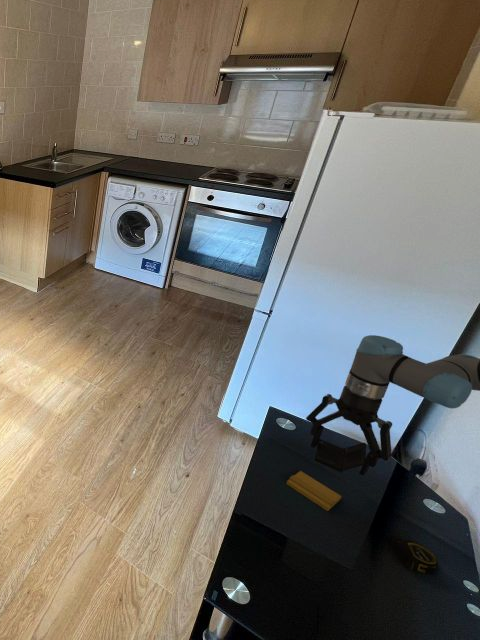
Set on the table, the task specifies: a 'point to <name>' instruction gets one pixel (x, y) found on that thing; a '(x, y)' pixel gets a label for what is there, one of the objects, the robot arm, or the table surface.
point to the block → (314, 490)
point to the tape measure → (415, 556)
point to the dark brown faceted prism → (340, 455)
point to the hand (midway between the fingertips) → (337, 458)
